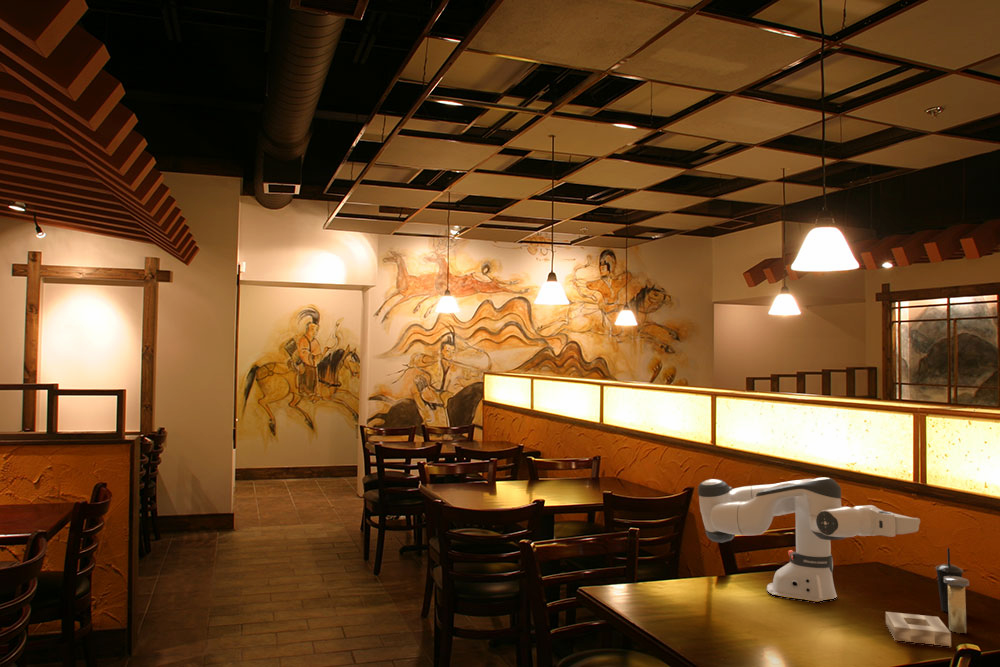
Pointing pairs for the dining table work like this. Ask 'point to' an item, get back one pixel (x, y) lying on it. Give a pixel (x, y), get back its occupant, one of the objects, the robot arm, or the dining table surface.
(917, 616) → the block
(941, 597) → the drinking cup
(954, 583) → the beige jar with lid
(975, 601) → the dining table surface
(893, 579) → the dining table surface
